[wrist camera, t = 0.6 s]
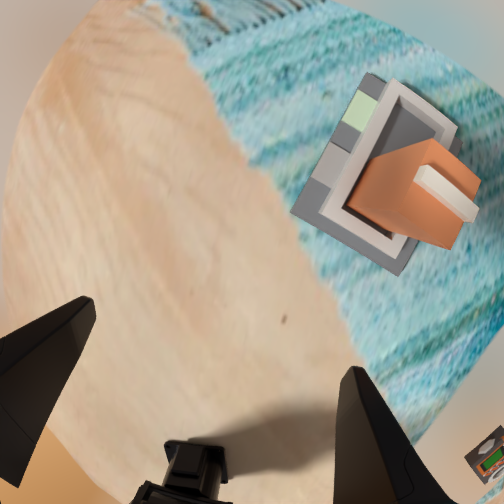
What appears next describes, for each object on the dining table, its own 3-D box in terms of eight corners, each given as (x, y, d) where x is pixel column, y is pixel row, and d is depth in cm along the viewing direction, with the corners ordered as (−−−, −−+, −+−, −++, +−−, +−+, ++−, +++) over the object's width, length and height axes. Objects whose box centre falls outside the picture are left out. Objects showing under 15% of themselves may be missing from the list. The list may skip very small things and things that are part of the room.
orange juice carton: (383, 229, 22) (458, 253, 12) (345, 205, 22) (405, 212, 12) (406, 184, 21) (490, 180, 11) (370, 159, 21) (440, 135, 11)
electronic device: (487, 488, 26) (470, 467, 24) (480, 478, 29) (462, 454, 27) (518, 461, 25) (509, 433, 23) (510, 452, 28) (499, 421, 26)
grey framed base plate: (394, 274, 23) (405, 281, 21) (289, 212, 23) (292, 213, 21) (458, 143, 21) (472, 139, 19) (364, 75, 21) (372, 64, 19)
